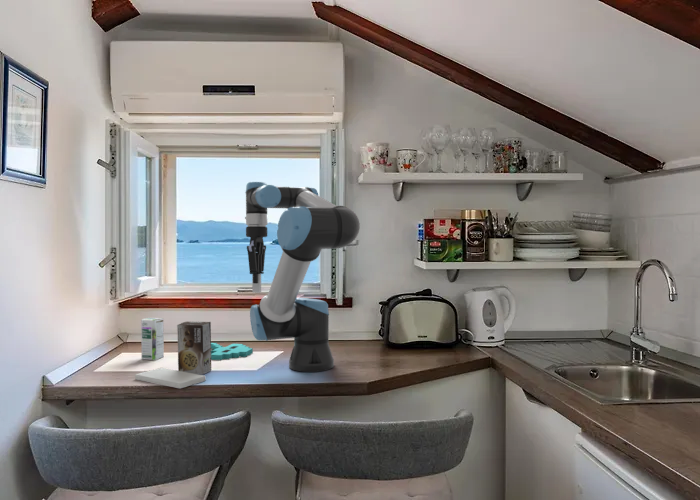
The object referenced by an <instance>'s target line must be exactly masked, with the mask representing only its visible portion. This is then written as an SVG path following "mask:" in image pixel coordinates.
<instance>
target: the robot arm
mask: <svg viewBox="0 0 700 500" xmlns="http://www.w3.org/2000/svg"><path fill="white" fill-rule="evenodd" d="M244 193H245V216H244V219H245V225H246V227H245V237H247V238H250V239H249V245H247V246H246V250H247V257H248V259H247V260H248V268H249V274H250V275H252V278H251V279H252V281H251V283H252V285H251V288H252V291H251V292H252V293H253V294H254V293H259V294H260V293H262V275H263V274H264V273H265V272H264V271H265V269H264V268H265V258H266V257H265V256H266V250H267V245H266V244H265V242H264V238H267V237H268V227H267V226H268V209H285V210H284V211H283V212H282V214H281V215H280V217H279V220H278V223H277V230H276V238H277V241H278V245H279V247H280V248H281V250H282V253H281V256H280V259H279V261H278V265H277V268H276V271H275V273H274V275H273V279H272V282H271V285H270V287H269V291H268V292H267V294H266V295H264V296H263V297H262V298H261V300H260V302H259V304H253V305H251V306H250V309H249V317H250V325H251V326H250V327H251V331H252V334H253V337H254V339H255V340H257V341H267V342H268V341H274V340H282V339H294V340H293V342H294V343H293V344H294V345H293V347H292V350H291V353H290V357H289V360H288V361H289V362H288V367H289V369H290V370H293V371H296V372H305V373H307V372H309V373H315V372H323V371H325V372H326V371H329V370H331V369H333V368H334V366H335V363H334V361H335V360H334V357H333V354H332V351H331V347H330V345H329V342H330V341H329V336H330V335H329V330H330V329H329V324H330V323H329V322H330V321H329V320H330V319H329V315H330V312H329V304H328V303H327V301H325V300H321V299H316V298H310V297H298V295H299V292H300V289H301V287H302V285H303V282H304V280H305V277H306V274H307V272H308V271H309V270H308V269H309V267H310V265H311V263H312V262H313V261H316V260H317V259H318V258H319V256H320V254H321V251H322V250H326V249H327V250H330V249H331V250H332V249H333V250H334V249H343V248H345V247H348V246H349V245H350V244H352V243H353V242H354V241H355V240H356V238H357V237H358V235H359V232H360V226H361V225H360V224H361V223H360V219H359V217H358V215H357V214H356V213H355V212H354V211H353V210H352V209H350V208H349V207H346V206H344V205H336V204H334V203H332V202H330V201H328V200H327V199H325V198H323V197H321V196H320V195H319V192H318V190H317V189H316V188H314V187H310V186H309V187H308V186H303V187H300V186H278V185H273V184H267V183H266V182H263V181H249V182H247V183H246V184H245V192H244Z"/></svg>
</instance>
